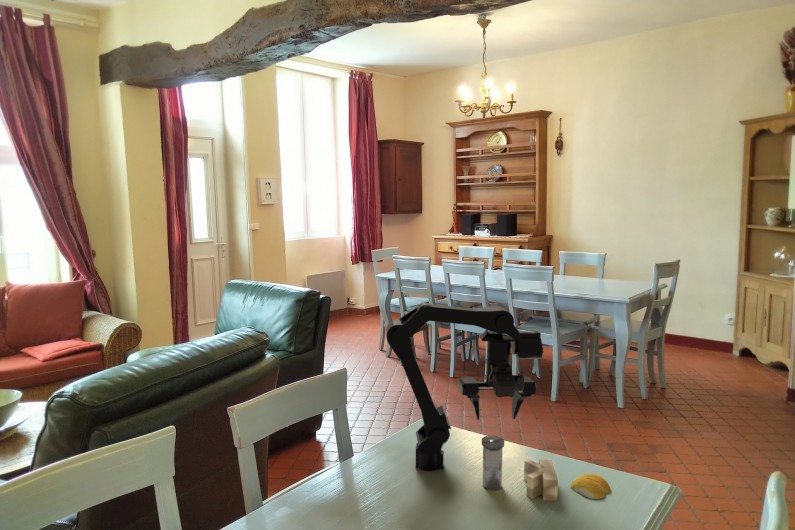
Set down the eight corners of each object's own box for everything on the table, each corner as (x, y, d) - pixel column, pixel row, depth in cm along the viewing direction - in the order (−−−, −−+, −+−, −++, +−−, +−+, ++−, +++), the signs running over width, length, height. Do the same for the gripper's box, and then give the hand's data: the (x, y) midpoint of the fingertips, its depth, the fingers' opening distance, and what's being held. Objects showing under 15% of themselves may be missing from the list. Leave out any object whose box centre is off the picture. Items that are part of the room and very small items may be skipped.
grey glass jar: (480, 490, 131) (481, 444, 129) (480, 479, 136) (481, 435, 134) (503, 491, 130) (504, 445, 129) (502, 480, 135) (503, 436, 134)
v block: (527, 499, 127) (527, 478, 126) (523, 477, 137) (523, 458, 136) (557, 501, 126) (557, 480, 125) (551, 479, 136) (551, 459, 135)
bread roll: (615, 492, 133) (615, 475, 132) (598, 507, 126) (599, 489, 126) (581, 480, 138) (582, 464, 138) (563, 493, 132) (564, 477, 131)
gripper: (469, 368, 131) (466, 433, 133) (547, 367, 133) (543, 431, 135) (458, 355, 142) (456, 415, 144) (530, 354, 144) (527, 413, 146)
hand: (495, 419), depth 142 cm, fingers open, 9 cm apart
